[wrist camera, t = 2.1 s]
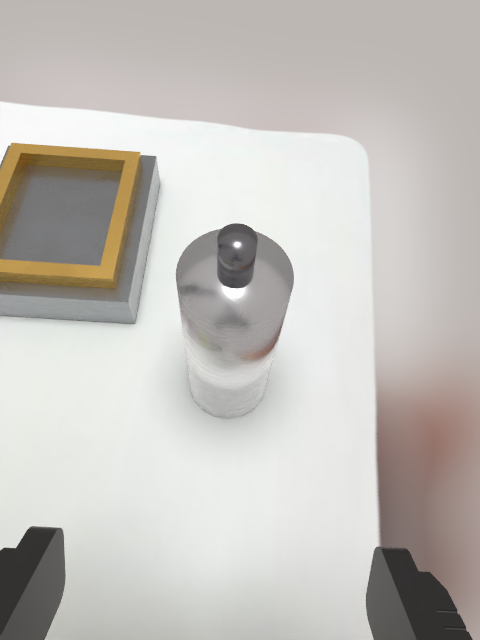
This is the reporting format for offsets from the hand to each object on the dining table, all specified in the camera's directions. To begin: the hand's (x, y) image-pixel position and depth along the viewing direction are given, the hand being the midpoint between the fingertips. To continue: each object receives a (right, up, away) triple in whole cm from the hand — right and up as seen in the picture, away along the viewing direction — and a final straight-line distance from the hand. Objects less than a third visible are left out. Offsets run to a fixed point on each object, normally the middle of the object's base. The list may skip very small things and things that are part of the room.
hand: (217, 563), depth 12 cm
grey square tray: (-13, +12, +25) cm, 31 cm away
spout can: (0, +2, +20) cm, 20 cm away
